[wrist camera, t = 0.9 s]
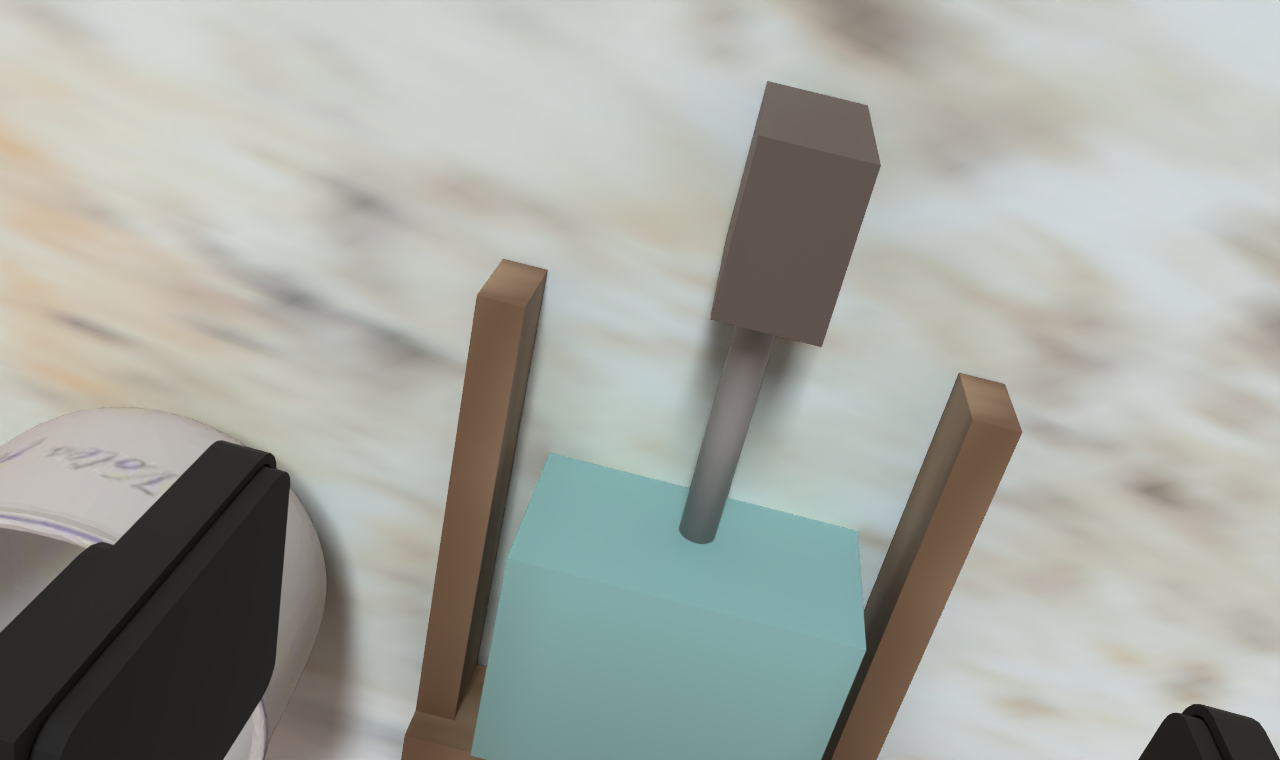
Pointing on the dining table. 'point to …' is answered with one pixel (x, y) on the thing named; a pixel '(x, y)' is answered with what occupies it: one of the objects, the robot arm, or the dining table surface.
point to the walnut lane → (481, 468)
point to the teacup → (110, 505)
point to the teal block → (700, 522)
